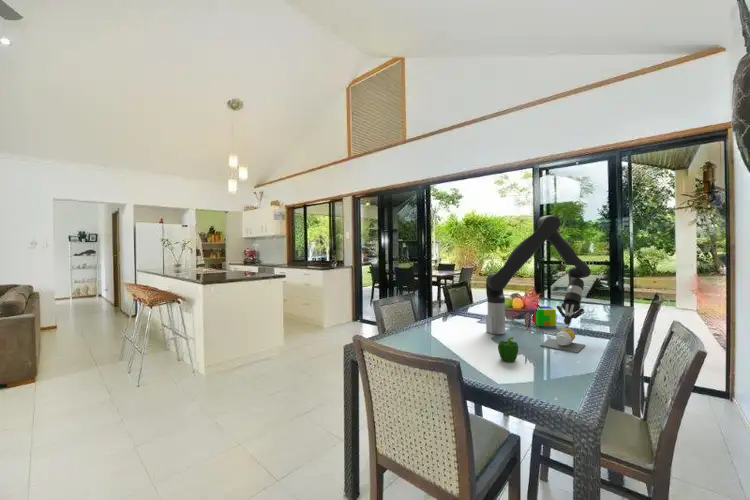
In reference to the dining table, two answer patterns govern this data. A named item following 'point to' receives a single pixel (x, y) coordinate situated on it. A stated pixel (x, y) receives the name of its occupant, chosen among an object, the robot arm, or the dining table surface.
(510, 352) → the bell pepper
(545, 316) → the puzzle toy
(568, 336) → the supplement bottle
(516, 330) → the dining table surface
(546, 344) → the mat
